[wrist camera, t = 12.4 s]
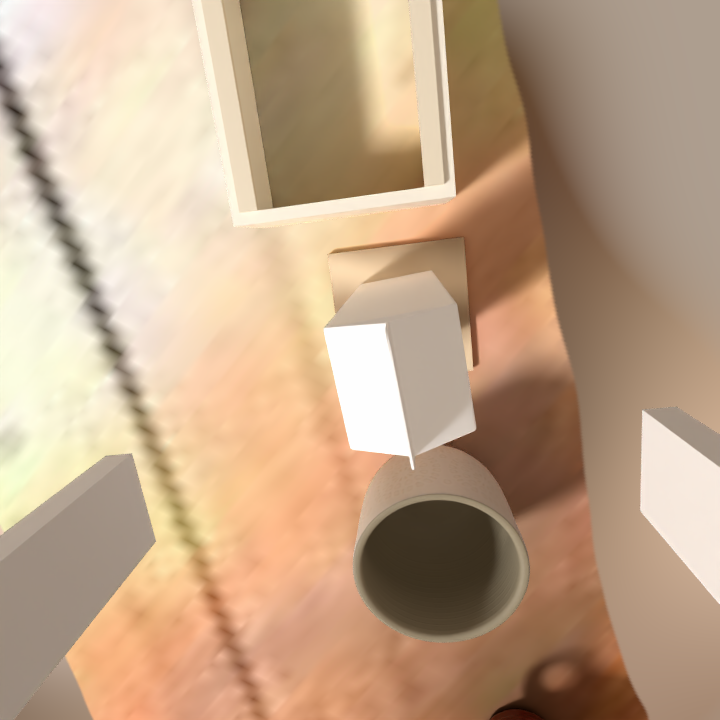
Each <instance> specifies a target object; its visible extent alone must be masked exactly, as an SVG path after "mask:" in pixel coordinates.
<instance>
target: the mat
mask: <svg viewBox="0 0 720 720" xmlns="http://www.w3.org/2000/svg"><path fill="white" fill-rule="evenodd" d="M327 255H328V263H329V270H330V277H331V284H332V291H333V298H334V306H335V313H337V312H338V311H339V309H340V308H341V307H342V306H343V305H344V304H345V302H346V301H347V300H348V299H349V298H350V296H351V295H352V294H353V293H354V292H355V290H356V289H357V288H358V287H359V286H360V285H361V284H365V283H370V282H375V281H380V280H385V279H390V278H395V277H400V276H405V275H410V274H415V273H420V272H425V271H430V270H432V271H433V273H434V274H435V275H436V277H437V278H438V279H439V281H440V282H441V283H442V285H443V286H444V287H445V289H446V290H447V291H448V293H449V294H450V295H451V297H452V298H453V299H454V301H455V302H456V303H457V307H458V313H459V319H460V326H461V332H462V338H463V345H464V351H465V357H466V364H467V370H468V371H472V370H473V359H472V345H471V330H470V316H469V301H468V287H467V272H466V258H465V243H464V237H459V238H451V239H443V240H435V241H428V242H420V243H412V244H404V245H396V246H388V247H380V248H372V249H364V250H357V251H349V252H341V253H333V254H327Z"/></svg>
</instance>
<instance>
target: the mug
mask: <svg viewBox="0 0 720 720" xmlns="http://www.w3.org/2000/svg"><path fill="white" fill-rule="evenodd" d="M490 720H543V719H542V718H541V717H540V716H538V715H536V714H535V713H532V712H530V711H526V710H522V709H509V710H504V711H502V712H500V713H498V714H496V715H494V716H493V717H492V718H491V719H490Z"/></svg>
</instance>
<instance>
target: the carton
mask: <svg viewBox="0 0 720 720" xmlns="http://www.w3.org/2000/svg"><path fill="white" fill-rule="evenodd" d="M408 3H409V14H410V26H411V37H412V49H413V60H414V72H415V83H416V95H417V106H418V118H419V129H420V141H421V152H422V164H423V175H424V187H422V188H415V189H408V190H401V191H394V192H387V193H380V194H372V195H365V196H358V197H351V198H344V199H337V200H330V201H323V202H315V203H308V204H301V205H294V206H287V207H280V208H273V204H272V198H271V191H270V185H269V179H268V173H267V167H266V161H265V155H264V148H263V142H262V136H261V130H260V124H259V118H258V112H257V106H256V99H255V93H254V87H253V81H252V75H251V69H250V63H249V57H248V50H247V44H246V38H245V32H244V26H243V20H242V14H241V7H240V1H239V0H192V5H193V10H194V16H195V21H196V27H197V32H198V37H199V43H200V48H201V54H202V59H203V64H204V70H205V75H206V81H207V86H208V92H209V97H210V102H211V108H212V113H213V119H214V124H215V129H216V135H217V140H218V146H219V151H220V157H221V162H222V167H223V173H224V178H225V184H226V189H227V194H228V200H229V205H230V211H231V216H232V222H233V227H251V228H271V227H279V226H286V225H293V224H301V223H308V222H315V221H323V220H330V219H338V218H345V217H352V216H360V215H367V214H374V213H382V212H389V211H397V210H404V209H411V208H419V207H426V206H433V205H441V204H446V203H447V202H449V201H450V200H452V199H453V198H454V197H456V188H455V174H454V160H453V146H452V132H451V118H450V105H449V91H448V77H447V63H446V49H445V35H444V21H443V7H442V0H408Z"/></svg>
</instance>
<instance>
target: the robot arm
mask: <svg viewBox="0 0 720 720" xmlns="http://www.w3.org/2000/svg"><path fill="white" fill-rule="evenodd" d="M641 459H642V460H641V505H640V511H641V512H642V514H643V515H644V516H645V517H646V518H647V519H648V521H649V522H650V523H651V524H652V525H653V527H654V528H655V529H656V530H657V531H658V532H659V534H660V535H661V536H662V537H663V538H664V540H665V541H666V542H667V543H668V544H669V545H670V547H671V548H672V549H673V550H674V551H675V552H676V554H677V555H678V556H679V557H680V558H681V559H682V561H683V562H684V563H685V564H686V565H687V567H688V568H689V569H690V570H691V571H692V572H693V574H694V575H695V576H696V577H697V578H698V580H699V581H700V582H701V583H702V584H703V585H704V587H706V589H707V590H708V591H709V593H710V594H711V595H712V596H713V597H714V598H715V600H716V601H717V602H718V603H719V604H720V434H718V433H717V432H715V431H713V430H712V429H710V428H709V427H707V426H706V425H704V424H703V423H701V422H699V421H698V420H696V419H694V418H693V417H692V416H690V415H688V414H687V413H685V412H684V411H682V410H681V409H679V408H678V407H668V408H657V409H645V410H642V455H641ZM155 542H156V540H155V536H154V532H153V529H152V525H151V521H150V518H149V514H148V511H147V507H146V503H145V500H144V496H143V492H142V489H141V485H140V481H139V478H138V474H137V470H136V467H135V463H134V459H133V456H132V454H121V455H109V456H105V457H104V458H102V459H101V460H100V461H98V462H97V463H96V464H94V465H93V466H92V467H90V468H89V469H88V470H86V471H85V472H84V473H82V474H81V475H80V476H78V477H77V478H76V479H75V480H73V481H72V482H71V483H69V484H68V485H67V486H65V487H64V488H63V489H61V490H60V491H59V492H57V493H56V494H55V495H53V496H52V497H51V498H49V499H48V500H47V501H45V502H44V503H43V504H41V505H40V506H39V507H38V508H36V509H35V510H34V511H32V512H31V513H30V514H28V515H27V516H26V517H24V518H23V519H22V520H20V521H19V522H18V523H16V524H15V525H14V526H12V527H11V528H10V529H8V530H7V531H6V532H4V533H3V534H2V535H1V536H0V720H14V719H15V718H16V716H17V715H18V714H19V713H20V711H21V710H22V709H23V708H24V706H25V705H26V704H27V702H28V701H29V700H30V699H31V698H32V696H33V695H34V694H35V693H36V691H37V690H38V689H39V687H40V686H41V685H42V684H43V682H44V681H45V680H46V679H47V677H48V676H49V675H50V673H51V672H52V671H53V670H54V668H55V667H56V666H57V665H58V664H59V662H60V661H61V660H62V659H63V657H64V656H65V655H66V654H67V652H68V651H69V650H70V649H71V647H72V646H73V645H74V644H75V642H76V641H77V640H78V638H79V637H80V636H81V635H82V633H83V632H84V631H85V630H86V628H87V627H88V626H89V625H90V623H91V622H92V621H93V620H94V618H95V617H96V616H97V615H98V613H99V612H100V611H101V610H102V608H103V607H104V606H105V605H106V603H107V602H108V601H109V600H110V598H111V597H112V596H113V595H114V593H115V592H116V591H117V590H118V588H119V587H120V586H121V584H122V583H123V582H124V581H125V579H126V578H127V577H128V576H129V574H130V573H131V572H132V571H133V569H134V568H135V567H136V566H137V564H138V563H139V562H140V561H141V559H142V558H143V557H144V556H145V554H146V553H147V552H148V551H149V549H150V548H151V547H152V546H153V544H154V543H155Z"/></svg>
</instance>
